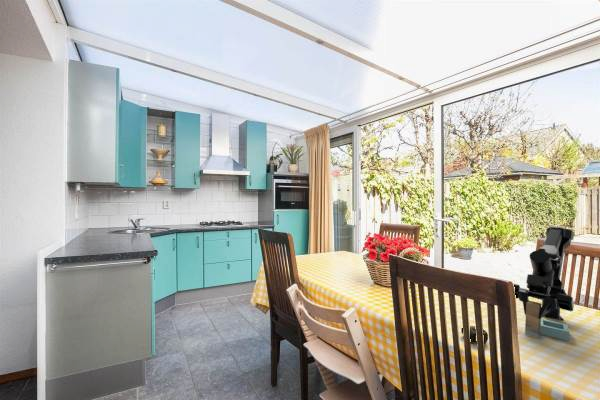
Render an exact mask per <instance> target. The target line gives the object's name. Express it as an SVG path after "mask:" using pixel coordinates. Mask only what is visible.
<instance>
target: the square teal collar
mask: <svg viewBox="0 0 600 400" xmlns="http://www.w3.org/2000/svg"><path fill="white" fill-rule="evenodd" d="M540 335H544V336H548V337H551V338H554V339H555V338H556V339H559V340H564V341H568V342H569V341H570V330H569V326H568V323H562V322H559V321H558V322H557V321H553V320H548V319H543V318H541V328H540Z"/></svg>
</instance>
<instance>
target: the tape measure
mask: <svg viewBox="0 0 600 400" xmlns="http://www.w3.org/2000/svg"><path fill="white" fill-rule="evenodd" d="M469 326H470V339H471V342H470V343H471V344H474V343H475V344H478V343H477V341H476V329H475V327H476V326H474V325H469ZM460 329H461V334H462V335H463V328H462V327H460ZM482 329H483V335H484V343H483V344H486V343H487V342H488V340H489V334H488V332H487V331H486V330H485V329H484V328H482Z"/></svg>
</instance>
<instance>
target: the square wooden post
mask: <svg viewBox="0 0 600 400" xmlns="http://www.w3.org/2000/svg"><path fill="white" fill-rule="evenodd" d="M541 307H542V302H537V301H533V300H529V301H528V302H526V315H525V323H524V324H525V327H524V335H527V336H530V337H532V338H533V337H534V338H537V339H538V338H539V337H540V336H541V334H540V328H541V319H542V318H541V319H539V312H540V310H541Z"/></svg>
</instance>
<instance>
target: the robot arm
mask: <svg viewBox="0 0 600 400" xmlns="http://www.w3.org/2000/svg"><path fill="white" fill-rule="evenodd" d="M574 233H575V232H574V231H573V230H572V229H571V228H565V227H563V226H555V225H554V226H553V225H550V226H548V227H546V232H545V237H546V238H545V241H544V243H543V246H541V247H538V248H537V250H534V251H532V252H531V253H530V254H529V259H530V263H531V268H532V269H533V273H532V274H527V276H526V288H524V287H520V284H517V283H513V284H514V287H515V295H516V298H515V299H517V300H518V301H520V302H522V305H523V313H524V315H525V316H526V302H528V301H530V300H529V297H530V298H534V299H536V300H541V303H542V305H541V310H540V312H539V319H543V318H548V319H553V320H554V319H555V320H559V321H560V320H561V321H564V318H563V317H562V316H561V310H564V311H568V312H573V311H574V306H575V304H574V298H573V296H572V295H569V294H567V292H566V290H565V287H564V285H563V282H562V281H561V274H562V269H563V268H562V267H563V261H564V255H565V250H566V249H567V248H569V247H570V246H571V245H572V241H573V240H574V238H575V237H574V235H575V234H574Z"/></svg>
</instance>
